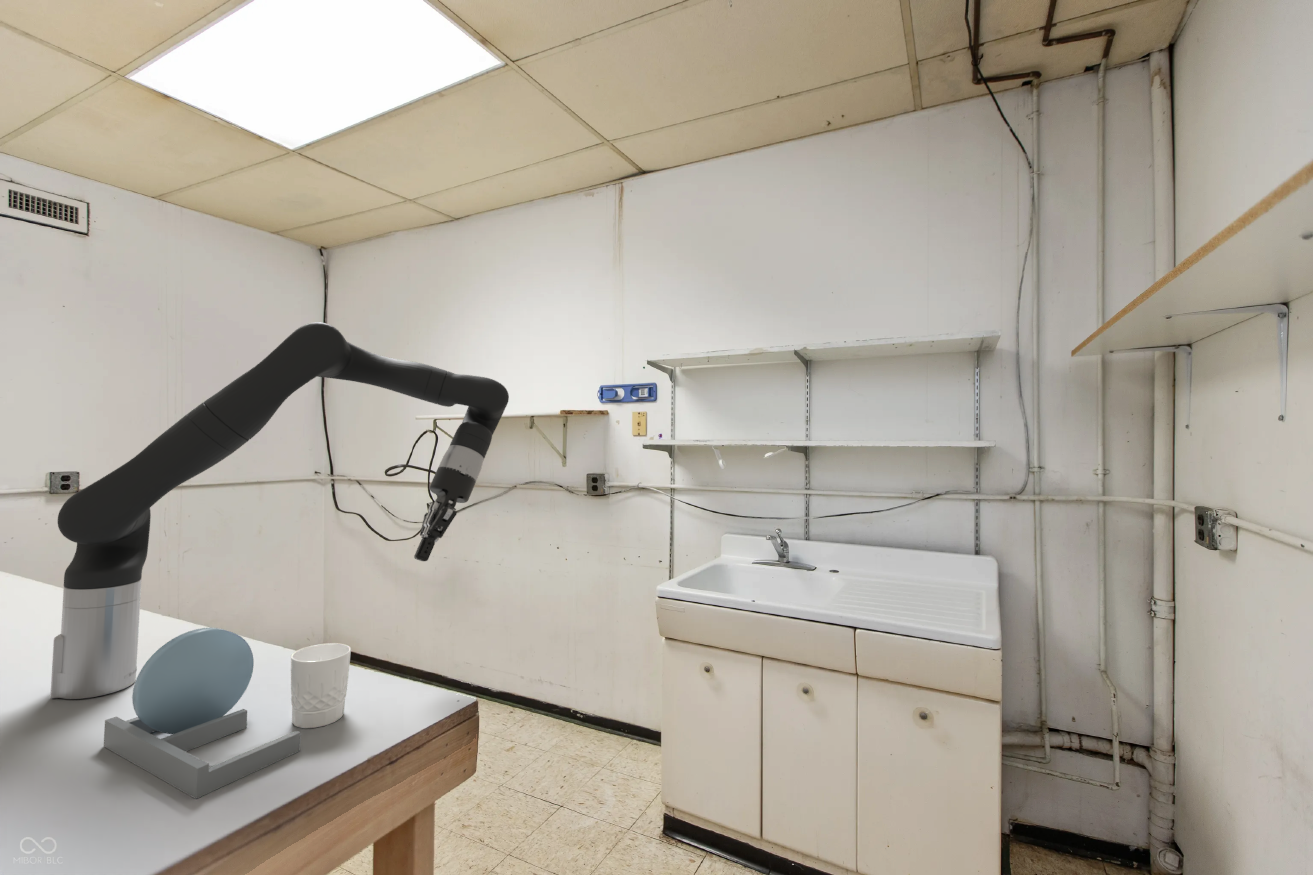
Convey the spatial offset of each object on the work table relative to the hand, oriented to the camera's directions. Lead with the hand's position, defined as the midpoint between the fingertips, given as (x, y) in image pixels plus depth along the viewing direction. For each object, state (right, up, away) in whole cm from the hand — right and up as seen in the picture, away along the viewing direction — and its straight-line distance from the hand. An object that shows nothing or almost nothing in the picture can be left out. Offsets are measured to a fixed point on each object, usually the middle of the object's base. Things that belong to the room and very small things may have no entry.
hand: (420, 559), depth 103 cm
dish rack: (-18, -20, -25) cm, 36 cm away
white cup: (-9, -21, -16) cm, 28 cm away
